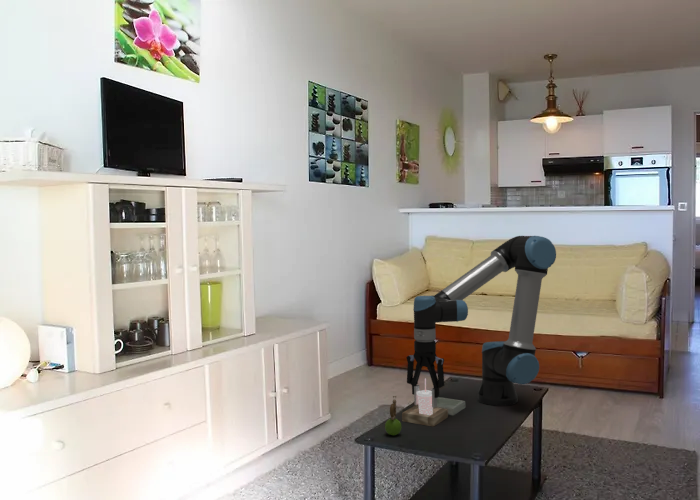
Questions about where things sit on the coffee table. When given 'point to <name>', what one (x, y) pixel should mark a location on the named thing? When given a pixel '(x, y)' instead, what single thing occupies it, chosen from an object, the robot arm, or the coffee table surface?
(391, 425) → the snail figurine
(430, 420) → the socket holder
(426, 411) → the beverage cup
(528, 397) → the coffee table surface
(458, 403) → the tray
